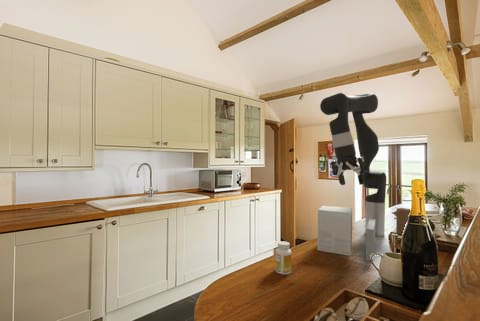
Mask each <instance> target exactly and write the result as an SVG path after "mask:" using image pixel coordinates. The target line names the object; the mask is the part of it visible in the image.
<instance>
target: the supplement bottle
mask: <svg viewBox="0 0 480 321" xmlns="http://www.w3.org/2000/svg"><path fill="white" fill-rule="evenodd" d="M290 245H291V244H290V242H288V241H284V240H283V241H281V240H280V241H277V248H276V249H275V259H274V260H275V264H274V265H275V266H274V268H275V269H274V270H275V272H276V273H277V274H280V275H285V276H286V275H290V274H291V273H292V256H293V255H292V254H293V253H292V250H291V249H290Z"/></svg>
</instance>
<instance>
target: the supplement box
mask: <svg viewBox="0 0 480 321" xmlns="http://www.w3.org/2000/svg"><path fill="white" fill-rule="evenodd" d="M352 240H353V207H343V206H342V207H341V206H332V205H322V206H321V207H319V208H318V209H317V242H316V243H317V244H316V246H317V247H316V251H318V252H319V251H320V252H324V253H331V254H336V255H337V254H338V255H342V256H348V257H349V256H351V253H352V249H353V248H352V247H353V246H352V244H353V242H352Z"/></svg>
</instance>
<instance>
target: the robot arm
mask: <svg viewBox="0 0 480 321" xmlns="http://www.w3.org/2000/svg"><path fill="white" fill-rule="evenodd" d="M378 107H379V100H378V96H377V95H376V94H375V93H362V94H356V95H346V94H345V93H344V92H337V93H335V94H333V95H330V96H328V97H325V98H323V99H322V100H321V101H320V105H319V108H320V111H321V112H322V113H323V114H324V115H326V116H331V115H337V117H336V118H335V119H332V120H331V121H329V123H328V124H329V130H330V134H331V142H332V146H333V151H334V154H335V155H334V156H335V158H336V159H337V160H336V159H334V160H331V162H330V166H331V170H332V175H333V176H337V178H338V181H339V182H338V183H339V184H340V186H345V185H346V180H345V176H344V173H345V171H352V172H355V173H356V174H357V180H358V184H359V185H360V186H361V185H363V187H364V188H366V189H370V190H371V189H373V190H376V192H375V193H372V194H368V195H365V204H364V205H365V209H364V210H365V213H364V217H365V218H364V233H365V234H366V228H367V225H368V222H369V219H370V218H371V219H376V227H375V237H383V236H385V231H386V228H385V226H386V225H385V224H386V220H385V219H386V194H387V193H386V189H387V175H386V172H384V171H371V169H370V167H371V164H372V162H373V161H374V159H375V158H376V156H377V155H378V153H379V150H380V146H379V138H378V135H377V134H376V133H375V131H374V130H373V129H372V128H371V126H370V125H368V124H367V122H366V120H365V118H364V114H371V113H374V112H376V111H377V109H378ZM349 113H352V117H353V122H354V126H355V131H356V136H357V137H356V139H357V145H358V152H359V156H360V157H357V156H356V154H357V152H356V147H355V144H354V139H353V135H352V133H351V128H350V124H349Z"/></svg>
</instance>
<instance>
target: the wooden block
mask: <svg viewBox="0 0 480 321" xmlns="http://www.w3.org/2000/svg"><path fill="white" fill-rule="evenodd" d="M410 209H411V208H406V207H398V208H397V209H396V226H395V227H396V230H395V232H396V233H395V235H396V234H401V235H402V233H403V230H404V227H405V224H406V222H407V220H408V215H409V213H410Z"/></svg>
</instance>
